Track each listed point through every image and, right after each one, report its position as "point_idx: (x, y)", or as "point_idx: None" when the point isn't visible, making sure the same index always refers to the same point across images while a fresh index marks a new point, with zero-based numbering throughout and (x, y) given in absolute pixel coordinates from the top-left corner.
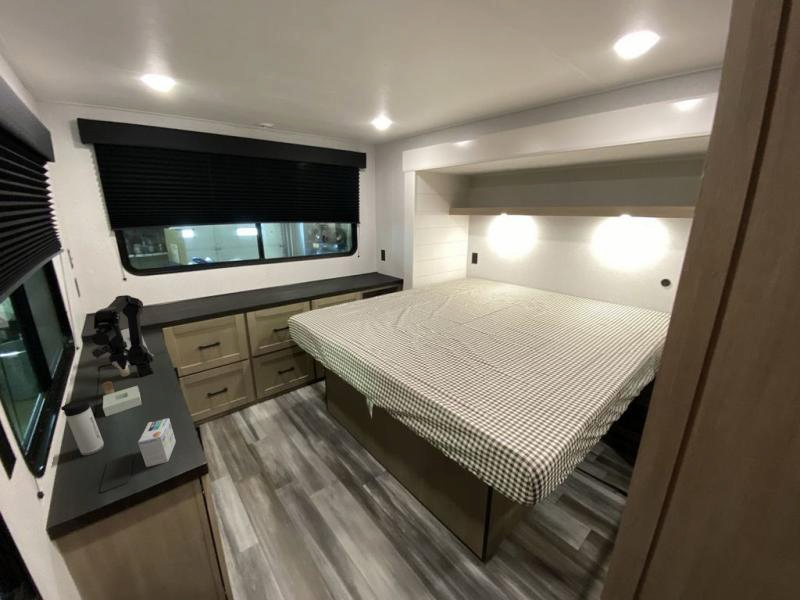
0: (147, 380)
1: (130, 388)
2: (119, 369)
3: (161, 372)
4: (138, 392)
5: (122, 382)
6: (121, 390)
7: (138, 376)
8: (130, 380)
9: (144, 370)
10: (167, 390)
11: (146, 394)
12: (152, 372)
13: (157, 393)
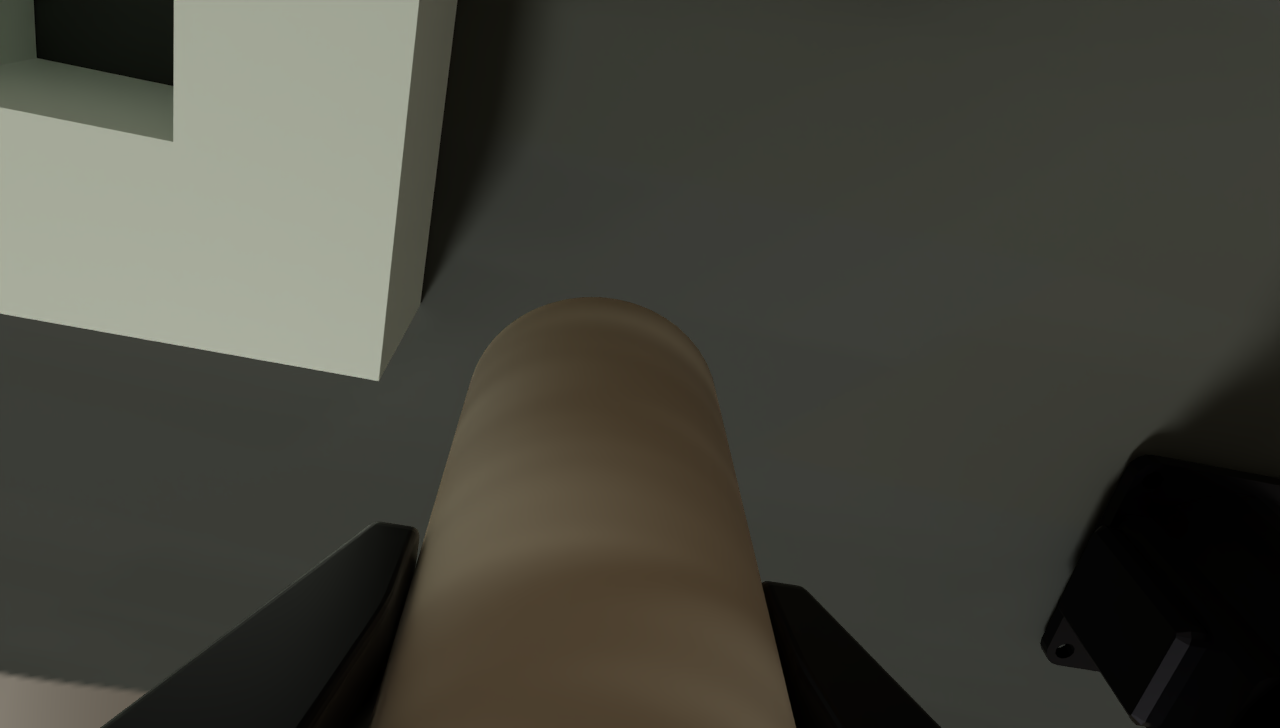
0: (846, 518)
1: (342, 245)
2: (554, 444)
3: (937, 722)
4: (8, 306)
5: (1253, 211)
6: (405, 71)
7: (1147, 473)
8: (1174, 334)
9: (1121, 634)
10: (131, 607)
11: (252, 365)
12: (1051, 653)
13: (140, 488)
